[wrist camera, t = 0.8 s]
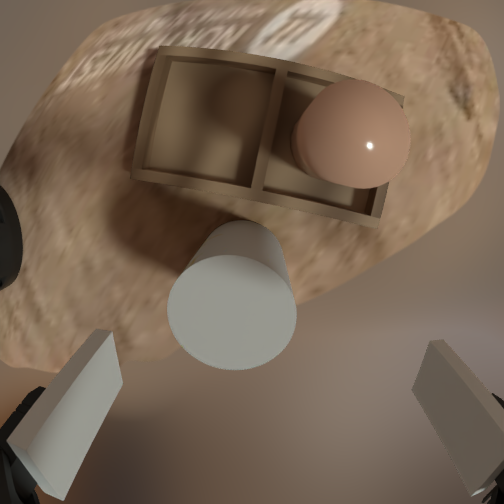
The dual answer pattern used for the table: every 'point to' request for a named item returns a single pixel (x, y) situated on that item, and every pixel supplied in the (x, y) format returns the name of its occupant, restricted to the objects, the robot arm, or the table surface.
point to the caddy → (240, 132)
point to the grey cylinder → (234, 299)
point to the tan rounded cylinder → (352, 135)
